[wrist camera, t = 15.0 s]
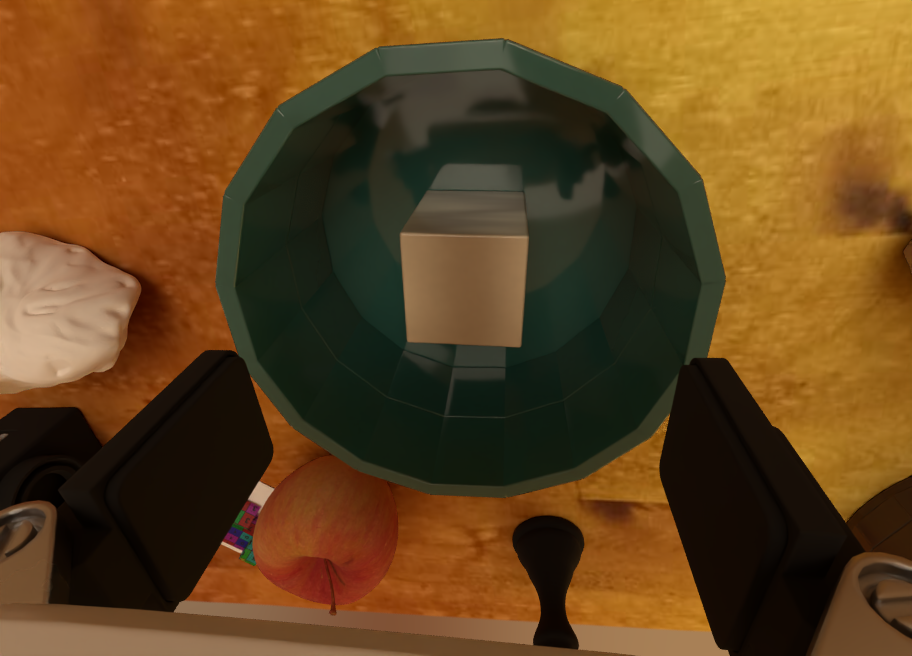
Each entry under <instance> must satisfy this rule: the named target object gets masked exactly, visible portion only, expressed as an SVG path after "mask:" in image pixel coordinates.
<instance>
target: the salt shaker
mask: <svg viewBox="0 0 912 656" xmlns="http://www.w3.org/2000/svg"><path fill="white" fill-rule="evenodd" d="M903 253H904V255H905V258H906V260H907V262H908V265H909V267H910V270H911V274H912V240H911V241H910V243H909V244H908V245H907V247H906V248H905V249H904V251H903Z"/></svg>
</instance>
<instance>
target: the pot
mask: <svg viewBox="0 0 912 656" xmlns="http://www.w3.org/2000/svg"><path fill="white" fill-rule="evenodd" d="M428 190H438V191H500V192H524V193H525V201H526V211H527V222H528V232H529V246H528V260H527V274H526V289H525V303H524V317H523V331H522V345H521V347H500V346H478V345H456V344H435V343H413V342H408V341H407V335H406V321H405V307H404V292H403V278H402V264H401V250H400V232H401V231H402V229H403V228H404V226H405V224H406V223H407V221H408V220H409V218H410V216H411V215H412V213H413V212H414V210H415V209H416V207H417V205H418V204H419V202H420V201H421V199H422V198H423V196H424V194H425V193H426V191H428ZM725 279H726V276H725V272H724V268H723V264H722V259H721V255H720V251H719V246H718V242H717V238H716V234H715V229H714V225H713V221H712V217H711V212H710V208H709V204H708V199H707V195H706V191H705V187H704V182H703V179H702V178H701V175H700V174H699V173H698V172H697V171H696V170H695V168H694V167H693V166H692V165H691V164H690V163H689V161H688V160H687V159H686V158H685V157H684V156H683V155H682V153H681V152H680V151H679V150H678V149H677V148H676V146H675V145H674V144H673V143H672V142H671V141H670V139H669V138H668V137H667V136H666V135H665V134H664V132H663V131H662V130H661V129H660V128H659V127H658V125H657V124H656V123H655V122H654V121H653V120H652V119H651V117H650V116H649V115H648V114H647V113H646V112H645V110H644V109H643V108H642V107H641V106H640V105H639V103H638V102H637V101H636V100H635V99H634V98H633V96H632V95H631V94H630V93H629V92H628V91H627V89H624V88H623V87H622V86H620V85H618V84H615V83H613V82H610V81H608V80H606V79H603V78H601V77H598V76H596V75H593V74H591V73H589V72H586V71H584V70H581V69H579V68H577V67H574V66H572V65H569V64H567V63H564V62H562V61H560V60H557V59H555V58H552V57H550V56H548V55H545V54H543V53H540V52H538V51H535V50H533V49H531V48H528V47H526V46H523V45H521V44H519V43H516V42H514V41H511V40H509V39H506V40H505V39H503V38H498V39H483V40H468V41H453V42H438V43H423V44H409V45H394V46H380V47H378V48H374V49H372V50H371V51H369V52H367V53H366V54H364V55H362V56H361V57H359V58H357V59H356V60H354V61H352V62H351V63H349V64H347V65H346V66H344V67H342V68H341V69H339V70H337V71H335V72H334V73H332V74H330V75H329V76H327V77H325V78H324V79H322V80H320V81H319V82H317V83H315V84H314V85H312V86H310V87H309V88H307V89H305V90H304V91H302V92H300V93H299V94H297V95H295V96H293V97H292V98H290V99H288V100H287V101H285V102H283V103H282V104H280V105H279V106H278V108H276V109H275V111H274V112H273V114H272V116H271V117H270V119H269V121H268V122H267V124H266V125H265V127H264V129H263V130H262V132H261V133H260V135H259V137H258V138H257V140H256V142H255V143H254V145H253V146H252V148H251V150H250V151H249V153H248V154H247V156H246V158H245V159H244V161H243V163H242V164H241V166H240V167H239V169H238V171H237V172H236V174H235V175H234V177H233V179H232V180H231V182H230V184H229V185H228V187H227V188H226V190H225V194H224V196H223V204H222V215H221V226H220V237H219V248H218V259H217V270H216V281H215V283H216V289H217V292H218V295H219V298H220V301H221V304H222V307H223V310H224V313H225V316H226V319H227V322H228V325H229V328H230V331H231V334H232V337H233V340H234V343H235V346H236V349H237V352H238V355H239V357H241V358H243V359H244V361H245V363H246V365H247V368H248V371H249V374H250V375H251V377H252V378H253V379H254V381H255V382H256V383H257V384H258V386H259V387H260V388H261V389H262V391H263V392H264V393H265V394H266V396H267V397H268V398H269V399H270V401H271V402H272V403H273V404H274V406H275V407H276V408H277V409H278V411H279V412H280V413H281V414H282V416H283V417H284V418H285V420H286V421H287V422H288V423H289V425H290V426H293V428H294V429H295V430H297V431H298V432H300V433H301V434H302V435H304V436H305V437H307V438H308V439H310V440H311V441H313V442H314V443H316V444H317V445H319V446H320V447H322V448H323V449H325V450H326V451H328V452H329V453H331V454H332V455H334V456H335V457H337V458H338V459H340V460H341V461H343V462H344V463H346V464H347V465H348V466H350V467H351V468H353V469H354V470H357V471H359V472H362V473H365V474H368V475H371V476H374V477H377V478H380V479H383V480H386V481H389V482H393V483H396V484H399V485H402V486H405V487H408V488H411V489H414V490H417V491H420V492H423V493H426V494H429V493H430V495H446V496H470V497H493V498H506V497H512V496H516V495H520V494H524V493H528V492H532V491H537V490H541V489H545V488H549V487H553V486H557V485H561V484H565V483H569V482H573V481H578V480H581V479H584V478H586V477H588V476H589V475H591V474H593V473H594V472H596V471H598V470H599V469H601V468H602V467H604V466H606V465H607V464H609V463H611V462H612V461H614V460H615V459H617V458H619V457H620V456H622V455H624V454H625V453H627V452H628V451H630V450H632V449H633V448H635V447H637V446H638V445H640V444H642V443H643V442H645V441H646V440H648V439H650V438H651V436H653V435H654V434H655V432H656V431H657V430H658V428H659V427H660V426H661V425H662V423H663V422H664V421H665V419H666V418H667V417H668V416H669V414H670V413H671V408H672V403H673V399H674V394H675V389H676V385H677V380H678V375H679V371H680V368H681V366H682V365H689V364H690V362H691V360H692V359H693V358H707V356H708V352H709V348H710V344H711V340H712V335H713V331H714V327H715V323H716V319H717V315H718V311H719V307H720V303H721V298H722V294H723V290H724V286H725V282H726V280H725Z"/></svg>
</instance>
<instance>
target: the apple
mask: <svg viewBox="0 0 912 656" xmlns="http://www.w3.org/2000/svg"><path fill="white" fill-rule="evenodd" d="M397 540H398V516H397V510H396V505H395V501H394V498H393V495H392V492H391V490H390V488H389V485H388V484H387V482H386V480H383V479H380V478H377V477H374V476H371V475H368V474H365V473H362V472H359V471H357V470H354V469H353V468H351V467H350V466H348V465H347V464H346V463H344V462H343V461H341V460H340V459H338V458H337V457H335V456H334V455H327V456H323V457H320V458H317V459H315V460H313V461H311V462H309V463H307V464H305V465H303V466H301V467H300V468H298V469H297V470H296V471H294V472H293V473H291V474H290V475H289V476H288V477H286V478H285V479H284V480H283V481H282V482H281V483H280V484H279V485H278V486H277V487H276V488H275V489H274V491H273V492H272V493H271V495H270V496H269V497H268V499H267V501H266V502H265V504H264V506H263V508H262V510H261V512H260V514H259V516H258V519H257V522H256V525H255V529H254V534H253V544H252V545H253V554H254V558H255V561H256V563H257V566H258V567H259V569H260V571H261V572H262V573H263V575H264V576H265V577H266V578H267V579H268V580H270V581H271V582H272V583H273V584H275V585H276V586H278V587H280V588H281V589H283V590H286V591H288V592H290V593H292V594H294V595H296V596H299V597H301V598H304V599H307V600H310V601H313V602H317V603H322V604H331V610H330V612H329V613H330V614H331V615H336V608H335V605H343V604H349V603H352V602H355V601H357V600H359V599H360V598H362V597H363V596H365V595H366V594H368V593H369V592H370V591H371V590H372V589H373V588H375V587H376V586H377V585H378V584H379V582H380V581H381V580H382V579H383V577H384V576H385V574H386V573H387V571H388V569H389V567H390V565H391V562H392V560H393V557H394V554H395V550H396V546H397Z"/></svg>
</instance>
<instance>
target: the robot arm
mask: <svg viewBox="0 0 912 656" xmlns="http://www.w3.org/2000/svg"><path fill="white" fill-rule="evenodd" d="M272 457H273V444H272V441H271V438H270V435H269V432H268V429H267V426H266V423H265V420H264V417H263V414H262V411H261V408H260V405H259V402H258V399H257V396H256V393H255V390H254V387H253V384H252V381H251V378H250V374H249V371H248V368H247V365H246V363H245V361H244V359H243V358H241V357H239V356H238V354H237V353H236V352H234V351H232V350H207V351H205V352H203V353H202V354H201V355H200V356H199V357H197V358H196V359H195V360H194V361H193V362H192V363H191V364H190V365H189V366H188V367H187V368H186V369H185V370H184V371H183V372H182V373H181V374H180V375H178V376H177V377H176V378H175V379H174V380H173V381H172V382H171V383H170V384H169V385H168V386H167V387H166V388H165V389H164V390H163V391H162V392H160V393H159V394H158V395H157V396H156V397H155V398H154V399H153V400H152V401H151V402H150V403H149V404H148V405H147V406H146V407H145V408H144V409H143V410H141V411H140V412H139V413H138V414H137V415H136V416H135V417H134V418H133V419H132V420H131V421H130V422H129V423H128V424H127V425H126V426H125V427H123V428H122V429H121V430H120V431H119V432H118V433H117V434H116V435H115V436H114V437H113V438H112V439H111V440H110V441H109V442H108V443H107V444H106V445H104V446H103V447H102V448H101V449H100V450H99V451H98V452H97V453H96V454H95V455H94V456H93V457H92V458H91V459H90V460H89V461H88V462H86V463H85V464H84V465H83V466H82V467H81V468H80V469H79V470H78V471H77V472H76V473H75V474H74V475H73V476H72V477H71V478H70V479H69V480H67V481H66V482H65V483H64V484H63V485H62V486H61V487H60V488H59V489H58V491H59V493H60V494H61V496H62V497H63V499H64V500H65V501H64V502H63V503H62V504H61V505H60V506H59V507H58V508H56V507H55V506H54V505H52V504H51V503H50V502H46V501H40V500H37V501H29V502H24V503H20V504H17V505H14V506H11V507H8V508H6V509H4V510H1V511H0V656H634V655H626V654H617V653H607V652H597V651H587V650H577V649H567V648H556V647H546V646H536V645H525V644H515V643H504V642H494V641H484V640H473V639H463V638H453V637H442V636H432V635H421V634H410V633H399V632H388V631H377V630H366V629H356V628H345V627H334V626H322V625H311V624H300V623H289V622H279V621H267V620H256V619H243V618H232V617H220V616H208V615H197V614H186V613H174V610H175V609H176V607H177V606H178V604H179V602H181V601H184V600H185V599H186V598H187V597H188V596H189V595H190V594H191V592H192V591H193V589H194V587H195V586H196V584H197V582H198V581H199V579H200V578H201V576H202V574H203V573H204V571H205V569H206V568H207V566H208V564H209V563H210V561H211V559H212V558H213V556H214V554H215V553H216V551H217V550H218V548H219V546H220V545H221V543H222V541H223V540H224V538H225V536H226V535H227V533H228V531H229V530H230V528H231V526H232V525H233V523H234V522H235V520H236V518H237V517H238V515H239V513H240V512H241V510H242V508H243V507H244V505H245V503H246V502H247V500H248V498H249V497H250V495H251V494H252V492H253V490H254V489H255V487H256V485H257V484H258V482H259V480H260V479H261V477H262V475H263V474H264V472H265V470H266V469H267V467H268V466H269V464H270V462H271V460H272ZM659 469H660V478H661V482H662V485H663V488H664V491H665V493H666V496H667V499H668V502H669V505H670V508H671V511H672V514H673V517H674V520H675V523H676V526H677V529H678V532H679V535H680V538H681V541H682V544H683V547H684V550H685V553H686V556H687V559H688V562H689V565H690V568H691V571H692V574H693V577H694V580H695V583H696V586H697V589H698V592H699V595H700V598H701V601H702V604H703V607H704V610H705V613H706V616H707V619H708V622H709V625H710V628H711V631H712V634H713V637H714V640H715V642H716V644H717V646H718V647H719V648H720V649H723V650H728V652H729V655H730V656H912V561H911V560H908V559H906V558H903V557H900V556H896V555H891V554H887V553H882V552H866V551H865V550H864V548H863V547H862V545H861V544H860V543H859V541H858V540H857V538H856V537H855V535H854V534H853V533H852V531H851V530H850V528H849V527H848V525H847V524H846V523H845V521H844V520H843V518H842V517H841V515H840V514H839V513H838V511H837V510H836V508H835V507H834V505H833V504H832V502H831V501H830V500H829V498H828V497H827V495H826V494H825V492H824V491H823V490H822V488H821V487H820V485H819V484H818V482H817V481H816V480H815V478H814V477H813V475H812V474H811V472H810V471H809V469H808V468H807V467H806V465H805V464H804V462H803V461H802V459H801V458H800V457H799V455H798V454H797V452H796V451H795V449H794V448H793V447H792V445H791V444H790V442H789V441H788V439H787V438H786V437H785V435H784V434H783V433H782V432H781V431H780V430H779V429H778V428H776V427H774V426H772V425H771V423H770V422H769V420H768V419H767V417H766V416H765V414H764V413H763V411H762V410H761V409H760V407H759V406H758V404H757V403H756V401H755V400H754V398H753V397H752V395H751V394H750V392H749V391H748V389H747V388H746V387H745V385H744V384H743V382H742V381H741V379H740V378H739V376H738V375H737V373H736V372H735V370H734V369H733V367H732V366H731V365H730V363H729V362H728V361H727V360H726V359H724V358H693V359H692V360H691V362H690V364H689V365H682V366H681V368H680V371H679V375H678V380H677V385H676V389H675V394H674V399H673V403H672V408H671V413H670V417H669V422H668V426H667V431H666V436H665V440H664V445H663V450H662V454H661V459H660V467H659Z"/></svg>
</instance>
